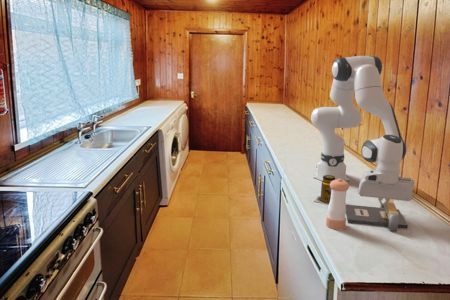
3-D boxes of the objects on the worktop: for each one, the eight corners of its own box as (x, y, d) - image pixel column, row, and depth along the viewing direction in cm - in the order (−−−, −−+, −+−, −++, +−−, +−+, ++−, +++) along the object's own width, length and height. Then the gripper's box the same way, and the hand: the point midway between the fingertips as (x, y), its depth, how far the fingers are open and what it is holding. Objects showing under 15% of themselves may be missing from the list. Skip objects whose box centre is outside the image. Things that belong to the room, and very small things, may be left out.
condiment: (332, 205, 166) (334, 179, 163) (313, 201, 170) (315, 176, 167) (336, 200, 172) (338, 175, 169) (318, 196, 176) (320, 172, 173)
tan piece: (397, 231, 140) (399, 216, 139) (388, 230, 141) (390, 215, 140) (391, 212, 158) (393, 199, 156) (383, 212, 158) (384, 198, 157)
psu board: (344, 207, 164) (344, 203, 163) (398, 212, 159) (398, 208, 159) (347, 222, 149) (348, 218, 148) (407, 228, 144) (408, 224, 144)
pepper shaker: (330, 220, 151) (334, 174, 146) (348, 225, 146) (353, 178, 142) (322, 225, 145) (326, 179, 141) (340, 231, 141) (345, 183, 136)
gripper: (413, 175, 150) (408, 207, 154) (359, 171, 155) (356, 202, 158) (417, 180, 144) (411, 214, 148) (361, 175, 149) (357, 208, 152)
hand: (382, 207), depth 153 cm, fingers closed
